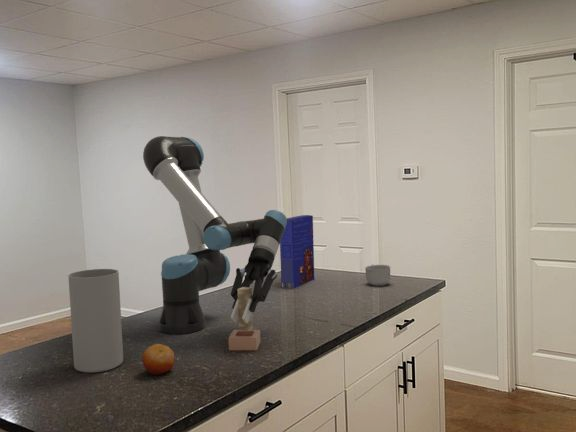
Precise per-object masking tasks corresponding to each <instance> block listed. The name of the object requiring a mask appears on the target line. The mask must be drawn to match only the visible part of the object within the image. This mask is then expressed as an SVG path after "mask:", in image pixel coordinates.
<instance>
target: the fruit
mask: <svg viewBox="0 0 576 432" xmlns="http://www.w3.org/2000/svg"><path fill="white" fill-rule="evenodd" d="M141 358H142V359H141V360H142V363H143V366H144V369H145V370H144V371H145V372H147V373H149V374H151V375H153V376H159V375H162V374H165V373H167V372H170V371H171V370H172V369H173V367H174V366H175V352H174V351H173V349H171V348H170V347H169V345H163V344H162V343H155V344H151V346H148V347H147V348H146V349H145V350H144V352H143V353H142V356H141Z"/></svg>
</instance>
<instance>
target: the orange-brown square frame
mask: <svg viewBox="0 0 576 432" xmlns="http://www.w3.org/2000/svg"><path fill="white" fill-rule="evenodd" d="M260 344H261V329H251V330H249V331H243V330H239V329H233V330H232V332H231V333H230V335H229V336H228V351H257V350H258V348H259V346H260Z"/></svg>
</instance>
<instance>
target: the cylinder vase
mask: <svg viewBox="0 0 576 432" xmlns="http://www.w3.org/2000/svg"><path fill="white" fill-rule="evenodd" d="M119 272H120V271H119V270H118V269H112V268H95V269H94V268H93V269H86V270H80V271H75V272H71V273H69V274H68V288H69V289H68V291H69V292H68V293H69V303H70V305H69V306H70V321H71V322H70V323H71V337H72V353H73V355H72V356H73V367H74V369H75V371H78V372H80V373H81V372H82V373H87V374H91V373H92V374H93V373H94V374H95V373H101V372H107V371H110V370H114V369H115V368H117V367H118V366H120V365H121V364H122V363H123V362H124V350H123V347H124V346H123V333H122V332H123V331H122V329H123V328H122V327H123V326H122V312H121V308H122V307H121V296H120V295H121V294H120V276H119V274H120V273H119Z"/></svg>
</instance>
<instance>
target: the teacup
mask: <svg viewBox="0 0 576 432" xmlns="http://www.w3.org/2000/svg"><path fill="white" fill-rule="evenodd" d="M364 269H365V278H366V281H367V283H369V284H370V285H371V286H373V287H383V286H386V285H387V284H388V283H389V282H390V281H391V266H390V265H387V264H371V265H368V266H365V268H364Z"/></svg>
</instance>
